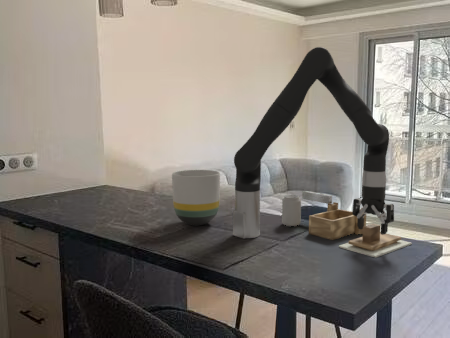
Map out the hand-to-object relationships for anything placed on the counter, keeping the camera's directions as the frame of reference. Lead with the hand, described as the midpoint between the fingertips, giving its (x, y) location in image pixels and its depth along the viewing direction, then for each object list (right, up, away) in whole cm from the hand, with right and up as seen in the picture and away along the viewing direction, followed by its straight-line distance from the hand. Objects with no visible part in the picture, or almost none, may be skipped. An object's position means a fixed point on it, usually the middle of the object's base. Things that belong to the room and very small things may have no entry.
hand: (372, 231), depth 147 cm
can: (-23, -2, +31) cm, 38 cm away
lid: (+2, -5, +2) cm, 5 cm away
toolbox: (-8, -3, +19) cm, 21 cm away
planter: (-61, -2, +33) cm, 70 cm away
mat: (+2, -5, +2) cm, 6 cm away
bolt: (-12, +8, +33) cm, 36 cm away
